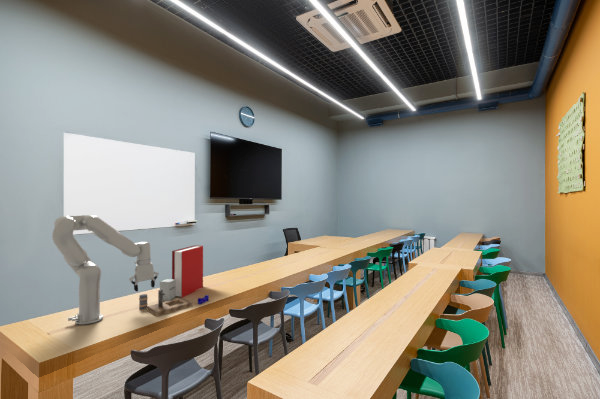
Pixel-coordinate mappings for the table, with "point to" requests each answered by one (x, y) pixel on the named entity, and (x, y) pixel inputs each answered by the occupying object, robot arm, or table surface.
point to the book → (187, 269)
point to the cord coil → (143, 301)
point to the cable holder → (203, 299)
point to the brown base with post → (167, 305)
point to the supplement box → (168, 289)
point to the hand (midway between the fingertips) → (144, 289)
